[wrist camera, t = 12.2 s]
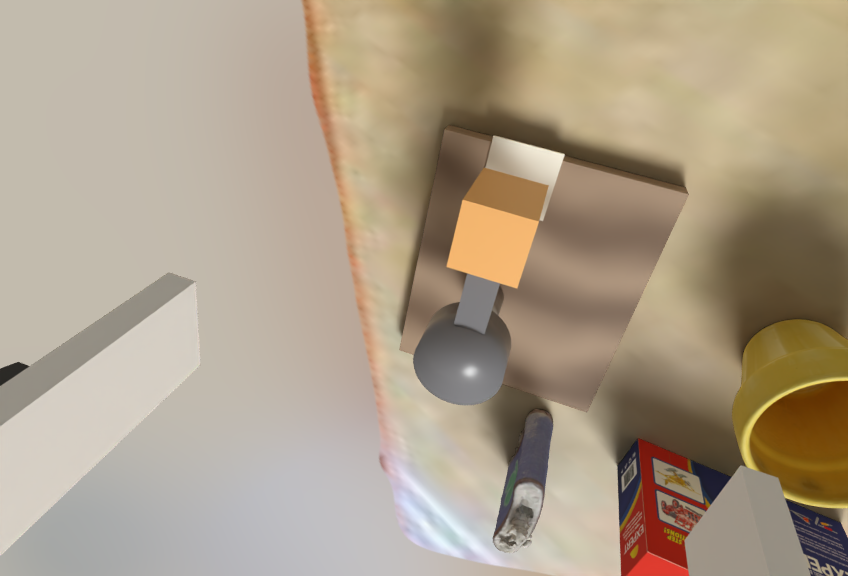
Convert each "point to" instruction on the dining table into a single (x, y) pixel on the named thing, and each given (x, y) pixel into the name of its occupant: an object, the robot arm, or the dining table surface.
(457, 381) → the grey joystick lever
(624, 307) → the post base
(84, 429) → the robot arm
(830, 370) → the plant pot
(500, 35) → the dining table surface
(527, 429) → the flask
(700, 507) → the toy box
